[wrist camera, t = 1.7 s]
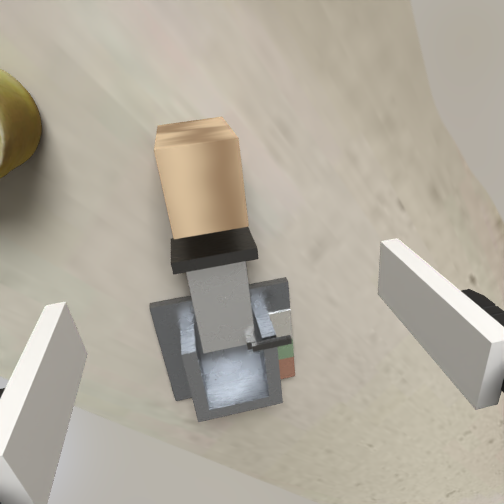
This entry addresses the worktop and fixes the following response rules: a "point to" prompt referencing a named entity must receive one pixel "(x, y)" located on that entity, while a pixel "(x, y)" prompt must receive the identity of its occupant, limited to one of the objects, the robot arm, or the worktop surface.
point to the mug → (16, 124)
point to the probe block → (201, 176)
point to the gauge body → (227, 355)
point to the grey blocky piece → (221, 288)
